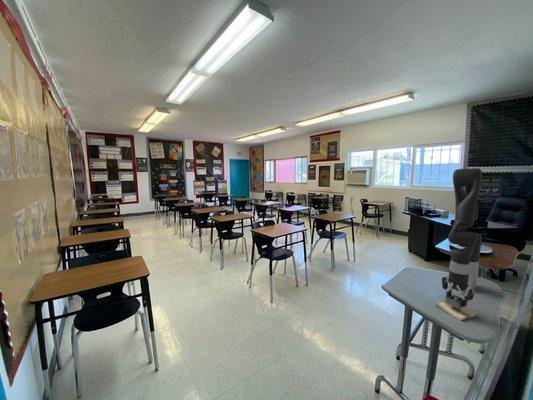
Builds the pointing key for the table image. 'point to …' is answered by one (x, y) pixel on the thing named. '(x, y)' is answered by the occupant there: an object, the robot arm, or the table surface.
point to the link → (454, 301)
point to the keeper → (456, 310)
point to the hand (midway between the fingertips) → (455, 302)
